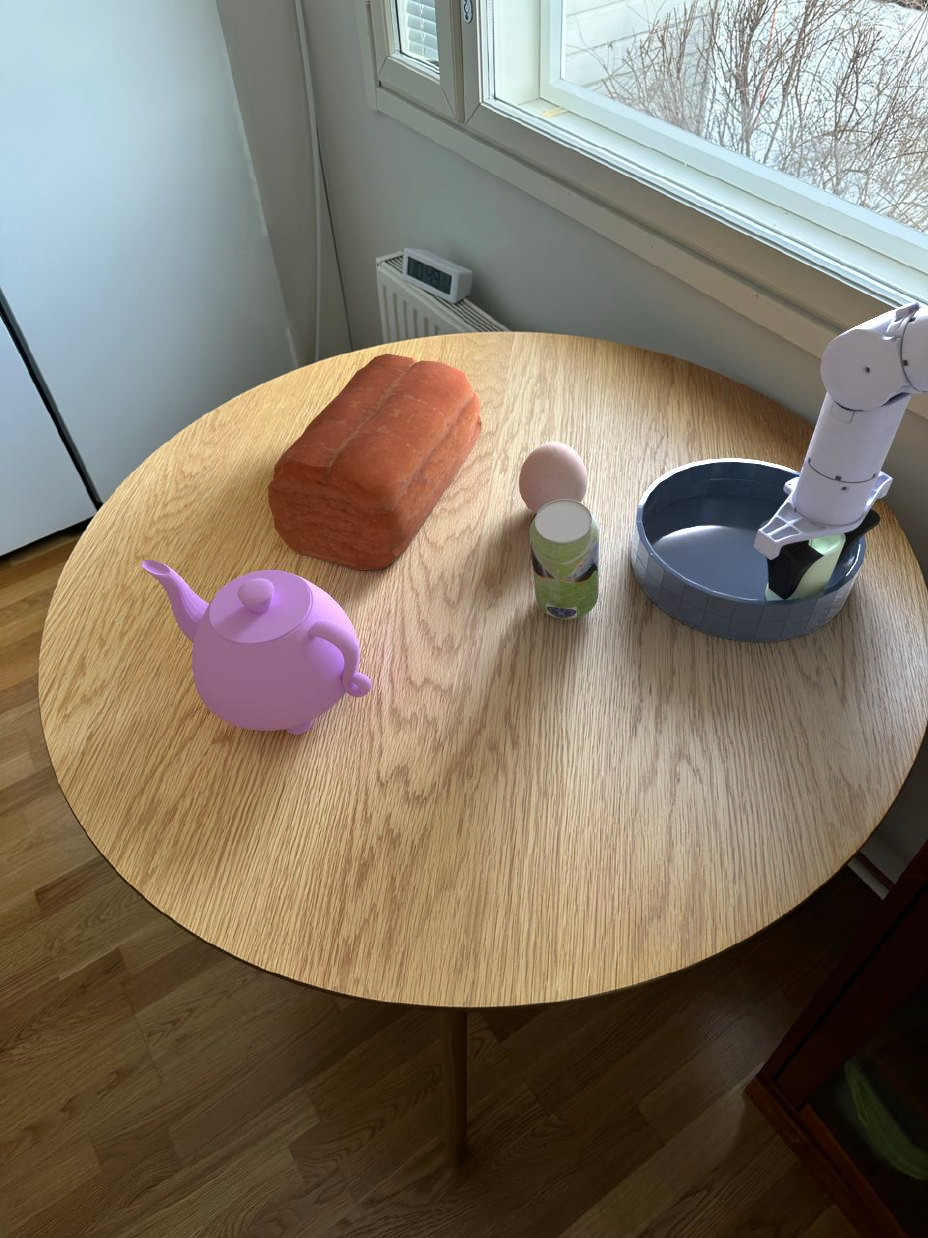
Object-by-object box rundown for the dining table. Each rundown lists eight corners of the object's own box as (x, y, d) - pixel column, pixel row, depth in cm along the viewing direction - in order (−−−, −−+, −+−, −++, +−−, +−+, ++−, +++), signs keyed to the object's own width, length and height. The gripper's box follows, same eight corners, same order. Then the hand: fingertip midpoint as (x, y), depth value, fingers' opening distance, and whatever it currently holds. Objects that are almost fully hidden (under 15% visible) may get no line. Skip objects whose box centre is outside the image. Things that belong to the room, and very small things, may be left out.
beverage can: (605, 590, 81) (617, 494, 72) (580, 642, 76) (590, 546, 67) (545, 573, 83) (550, 477, 74) (517, 623, 78) (519, 527, 69)
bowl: (838, 506, 88) (853, 468, 84) (860, 656, 74) (879, 619, 70) (637, 486, 91) (643, 449, 88) (622, 626, 77) (628, 589, 74)
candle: (760, 609, 77) (782, 544, 71) (769, 574, 80) (790, 509, 74) (816, 623, 76) (842, 558, 70) (822, 587, 79) (848, 521, 73)
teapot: (139, 711, 73) (86, 615, 63) (228, 603, 81) (193, 505, 72) (337, 782, 67) (310, 688, 58) (410, 657, 76) (397, 558, 66)
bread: (491, 435, 99) (490, 354, 91) (397, 582, 82) (385, 499, 75) (376, 411, 103) (365, 333, 96) (264, 546, 87) (240, 465, 79)
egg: (597, 504, 89) (603, 440, 83) (562, 541, 86) (566, 477, 79) (541, 482, 92) (543, 418, 86) (505, 516, 89) (505, 453, 83)
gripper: (862, 408, 71) (818, 527, 81) (742, 468, 66) (710, 587, 76) (933, 447, 67) (878, 567, 77) (811, 515, 62) (768, 634, 72)
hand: (799, 580), depth 76 cm, fingers closed on candle, 5 cm apart
